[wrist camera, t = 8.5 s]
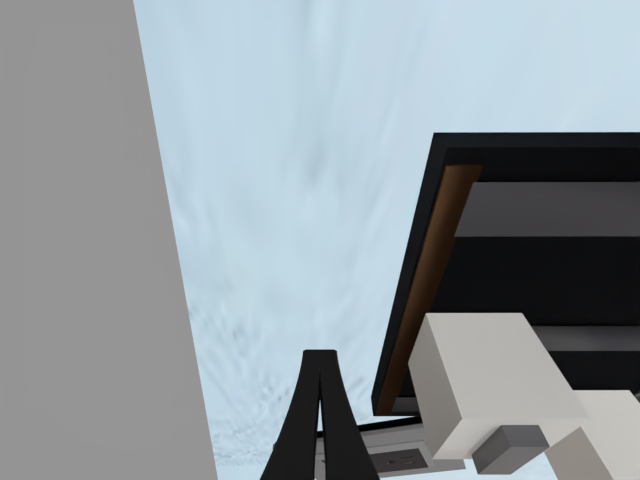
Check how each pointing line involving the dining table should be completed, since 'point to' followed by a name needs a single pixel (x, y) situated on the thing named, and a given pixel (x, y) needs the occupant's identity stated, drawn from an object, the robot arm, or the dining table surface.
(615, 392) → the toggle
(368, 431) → the grey flat plate
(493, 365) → the toggle middle
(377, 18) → the dining table surface
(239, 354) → the dining table surface
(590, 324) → the breaker panel
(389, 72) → the dining table surface
